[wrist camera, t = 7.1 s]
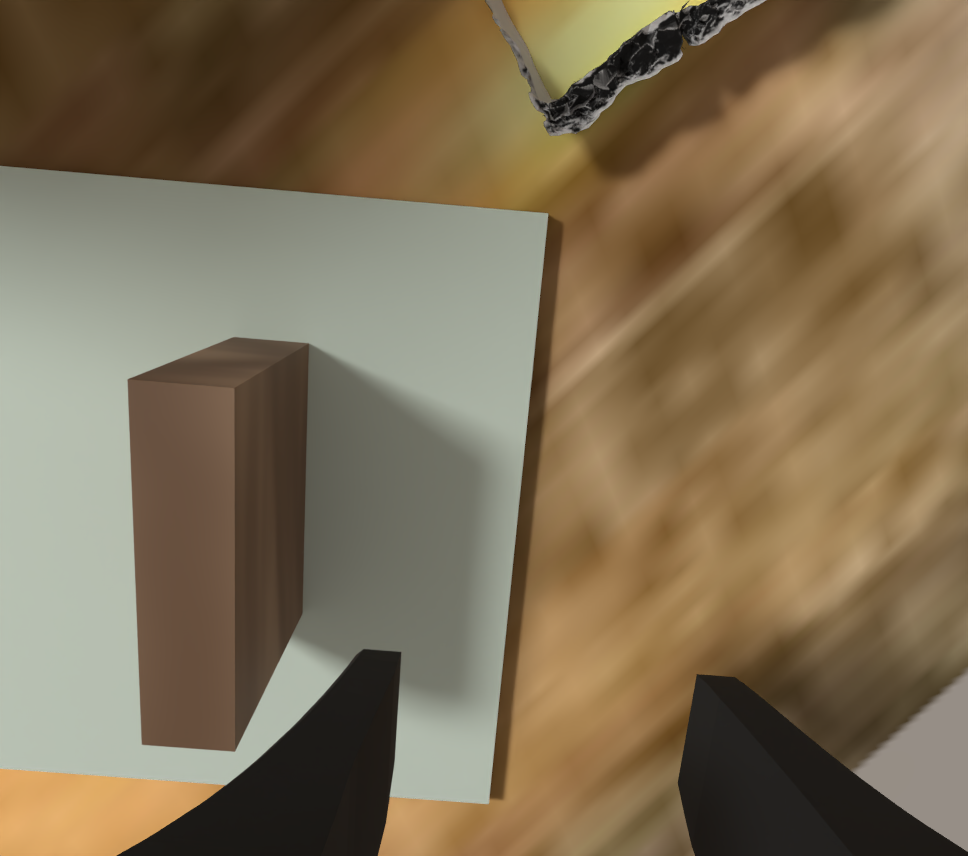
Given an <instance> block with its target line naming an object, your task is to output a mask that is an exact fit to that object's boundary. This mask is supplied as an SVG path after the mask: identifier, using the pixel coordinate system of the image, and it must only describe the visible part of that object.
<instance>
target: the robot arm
mask: <svg viewBox="0 0 968 856" xmlns="http://www.w3.org/2000/svg"><path fill="white" fill-rule="evenodd" d="M400 668H401V652H397V651H384V650H371V649H363V650H362V651H360V652H359V653H358V654H356V655H355V657H354V658H353V659H352V661H351V662H350V663H349V665H348V666H347V667H346V668H345V670H344V671H343V672H342V673H341V675H340V676H339V677H338V678H337V679H336V680H335V682H334V683H333V684H332V685H331V686H330V687H329V688H328V690H327V691H326V692H325V693H324V694H323V695H322V696H321V697H320V699H319V700H318V701H317V702H316V703H315V704H314V705H313V706H312V707H311V708H310V709H309V710H308V711H307V712H306V713H305V714H304V715H303V717H302V718H301V719H300V720H299V721H298V722H297V723H296V724H295V725H294V726H293V727H292V728H291V729H290V730H289V731H287V732H286V733H285V734H284V735H283V736H282V737H281V738H280V739H279V740H278V741H277V742H276V743H275V744H274V745H272V746H271V747H270V748H269V749H268V750H267V751H266V752H265V753H264V754H263V755H262V756H261V757H259V758H258V759H257V760H256V761H255V762H254V763H252V764H251V765H250V766H249V767H248V768H247V769H245V770H244V771H243V772H242V773H241V774H239V775H238V776H237V777H236V778H234V779H233V780H232V781H231V782H229V783H228V784H227V785H225V786H224V787H223V788H221V789H220V790H219V791H218V792H216V793H215V794H214V795H212V796H211V797H210V798H208V799H207V800H206V801H204V802H203V803H201V804H200V805H198V806H197V807H195V808H194V809H192V810H190V811H189V812H187V813H186V814H184V815H183V816H181V817H180V818H178V819H177V820H175V821H174V822H172V823H170V824H169V825H167V826H166V827H164V828H163V829H161V830H160V831H158V832H157V833H155V834H153V835H152V836H150V837H149V838H147V839H145V840H143V841H142V842H140V843H138V844H136V845H135V846H133V847H131V848H129V849H128V850H126V851H124V852H122V853H120V854H119V855H117V856H378V852H379V848H380V844H381V840H382V836H383V832H384V828H385V824H386V818H387V811H388V804H389V798H390V791H391V784H392V777H393V770H394V763H395V749H396V733H397V717H398V700H399V684H400ZM678 786H679V790H680V795H681V800H682V805H683V810H684V814H685V819H686V823H687V827H688V831H689V836H690V840H691V844H692V848H693V851H694V853H695V856H968V852H967V851H965V850H964V849H962V848H961V847H959V846H958V845H956V844H954V843H953V842H951V841H950V840H948V839H947V838H945V837H944V836H942V835H941V834H939V833H937V832H936V831H934V830H933V829H931V828H930V827H928V826H926V825H925V824H924V823H922V822H921V821H919V820H918V819H916V818H915V817H913V816H912V815H910V814H909V813H907V812H906V811H904V810H903V809H902V808H900V807H899V806H897V805H896V804H895V803H893V802H892V801H891V800H889V799H888V798H886V797H885V796H884V795H882V794H881V793H880V792H878V791H877V790H876V789H874V788H873V787H872V786H870V785H869V784H868V783H866V782H865V781H863V780H862V779H861V778H859V777H858V776H857V775H856V774H854V773H853V772H852V771H850V770H849V769H848V768H847V767H845V766H844V765H843V764H841V763H840V762H839V761H838V760H836V759H835V758H834V757H833V756H831V755H830V754H829V753H828V752H826V751H825V750H824V749H823V748H821V747H820V746H819V745H818V744H817V743H815V742H814V741H813V740H812V739H810V738H809V737H808V736H807V735H806V734H804V733H803V732H802V731H801V730H800V729H798V728H797V727H796V726H795V725H794V724H792V723H791V722H790V721H789V720H788V719H786V718H785V717H784V716H783V715H782V714H780V713H779V712H778V711H777V710H776V709H774V708H773V707H772V706H771V705H770V704H768V703H767V702H766V701H765V700H764V699H762V698H761V697H760V696H759V695H758V694H756V693H755V692H754V691H753V690H751V689H750V688H749V687H747V686H746V685H745V684H744V683H742V682H741V681H739V680H738V679H737V678H735V677H725V676H712V675H699V674H697V677H696V683H695V689H694V694H693V700H692V706H691V711H690V717H689V723H688V728H687V734H686V740H685V745H684V751H683V757H682V762H681V768H680V773H679V779H678Z"/></svg>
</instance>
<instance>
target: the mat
mask: <svg viewBox="0 0 968 856" xmlns="http://www.w3.org/2000/svg"><path fill="white" fill-rule="evenodd" d="M547 223H548V213H538V212H527V211H515V210H503V209H492V208H480V207H469V206H457V205H446V204H434V203H423V202H411V201H400V200H388V199H377V198H365V197H354V196H342V195H330V194H319V193H307V192H296V191H284V190H273V189H261V188H250V187H238V186H227V185H215V184H204V183H192V182H181V181H169V180H157V179H146V178H134V177H123V176H111V175H100V174H88V173H77V172H65V171H54V170H42V169H31V168H19V167H8V166H0V768H1V769H14V770H28V771H42V772H56V773H69V774H83V775H97V776H111V777H124V778H138V779H152V780H165V781H179V782H193V783H207V784H220V785H227V784H228V783H229V782H231V781H232V780H233V779H234V778H236V777H237V776H238V775H239V774H241V773H242V772H243V771H244V770H245V769H247V768H248V767H249V766H250V765H251V764H252V763H254V762H255V761H256V760H257V759H258V758H259V757H261V756H262V755H263V754H264V753H265V752H266V751H267V750H268V749H269V748H270V747H271V746H272V745H274V744H275V743H276V742H277V741H278V740H279V739H280V738H281V737H282V736H283V735H284V734H285V733H286V732H287V731H289V730H290V729H291V728H292V727H293V726H294V725H295V724H296V723H297V722H298V721H299V720H300V719H301V718H302V717H303V715H304V714H305V713H306V712H307V711H308V710H309V709H310V708H311V707H312V706H313V705H314V704H315V703H316V702H317V701H318V700H319V699H320V697H321V696H322V695H323V694H324V693H325V692H326V691H327V690H328V688H329V687H330V686H331V685H332V684H333V683H334V682H335V680H336V679H337V678H338V677H339V676H340V675H341V673H342V672H343V671H344V670H345V668H346V667H347V666H348V665H349V663H350V662H351V661H352V659H353V658H354V657H355V655H356V654H358V653H359V652H360V651H362V650H363V649H371V650H384V651H397V652H401V668H400V684H399V700H398V717H397V733H396V749H395V763H394V770H393V777H392V784H391V791H390V797H399V798H413V799H427V800H440V801H454V802H468V803H482V804H489V796H490V786H491V776H492V766H493V757H494V747H495V737H496V727H497V717H498V707H499V697H500V687H501V677H502V668H503V658H504V648H505V638H506V628H507V618H508V608H509V598H510V588H511V579H512V569H513V559H514V549H515V539H516V529H517V519H518V509H519V500H520V490H521V480H522V470H523V460H524V450H525V440H526V430H527V420H528V411H529V401H530V391H531V381H532V371H533V361H534V351H535V341H536V331H537V322H538V312H539V302H540V292H541V282H542V272H543V262H544V252H545V242H546V233H547ZM232 337H240V338H252V339H264V340H276V341H288V342H300V343H309V362H308V404H307V446H306V488H305V530H304V572H303V614H302V616H301V618H300V620H299V622H298V624H297V626H296V628H295V630H294V632H293V634H292V636H291V638H290V640H289V642H288V644H287V646H286V649H285V651H284V653H283V655H282V657H281V659H280V661H279V663H278V665H277V667H276V669H275V671H274V673H273V675H272V677H271V679H270V681H269V683H268V685H267V687H266V689H265V692H264V694H263V696H262V698H261V700H260V702H259V704H258V706H257V708H256V710H255V712H254V714H253V716H252V718H251V720H250V722H249V724H248V726H247V728H246V730H245V732H244V735H243V737H242V739H241V741H240V743H239V745H238V747H237V749H236V751H235V752H231V751H218V750H204V749H190V748H177V747H163V746H150V745H142V741H141V715H140V689H139V664H138V638H137V612H136V586H135V561H134V535H133V509H132V483H131V458H130V432H129V406H128V381H127V379H129V378H132V377H134V376H137V375H139V374H142V373H144V372H147V371H149V370H152V369H155V368H157V367H160V366H162V365H165V364H167V363H170V362H172V361H175V360H177V359H180V358H182V357H185V356H187V355H190V354H192V353H195V352H197V351H200V350H202V349H205V348H207V347H210V346H212V345H215V344H217V343H220V342H222V341H225V340H227V339H230V338H232Z"/></svg>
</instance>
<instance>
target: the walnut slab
mask: <svg viewBox="0 0 968 856" xmlns="http://www.w3.org/2000/svg"><path fill="white" fill-rule="evenodd" d="M308 362H309V343H300V342H288V341H276V340H264V339H252V338H240V337H232V338H230V339H227V340H225V341H222V342H220V343H217V344H215V345H212V346H210V347H207V348H205V349H202V350H200V351H197V352H195V353H192V354H190V355H187V356H185V357H182V358H180V359H177V360H175V361H172V362H170V363H167V364H165V365H162V366H160V367H157V368H155V369H152V370H149V371H147V372H144V373H142V374H139V375H137V376H134V377H132V378H129V379H127V381H128V406H129V432H130V458H131V483H132V509H133V535H134V561H135V586H136V612H137V638H138V664H139V689H140V715H141V741H142V745H150V746H163V747H177V748H190V749H204V750H218V751H231V752H235V751H236V749H237V747H238V745H239V743H240V741H241V739H242V737H243V735H244V732H245V730H246V728H247V726H248V724H249V722H250V720H251V718H252V716H253V714H254V712H255V710H256V708H257V706H258V704H259V702H260V700H261V698H262V696H263V694H264V692H265V689H266V687H267V685H268V683H269V681H270V679H271V677H272V675H273V673H274V671H275V669H276V667H277V665H278V663H279V661H280V659H281V657H282V655H283V653H284V651H285V649H286V646H287V644H288V642H289V640H290V638H291V636H292V634H293V632H294V630H295V628H296V626H297V624H298V622H299V620H300V618H301V616H302V614H303V572H304V530H305V488H306V446H307V404H308Z"/></svg>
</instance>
